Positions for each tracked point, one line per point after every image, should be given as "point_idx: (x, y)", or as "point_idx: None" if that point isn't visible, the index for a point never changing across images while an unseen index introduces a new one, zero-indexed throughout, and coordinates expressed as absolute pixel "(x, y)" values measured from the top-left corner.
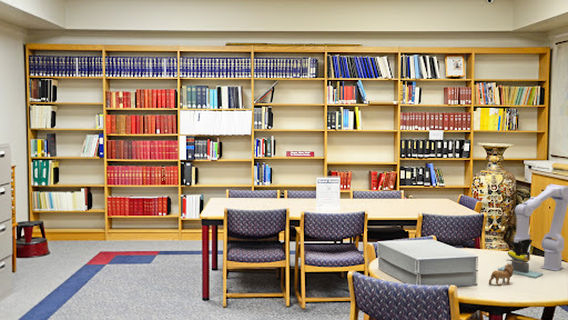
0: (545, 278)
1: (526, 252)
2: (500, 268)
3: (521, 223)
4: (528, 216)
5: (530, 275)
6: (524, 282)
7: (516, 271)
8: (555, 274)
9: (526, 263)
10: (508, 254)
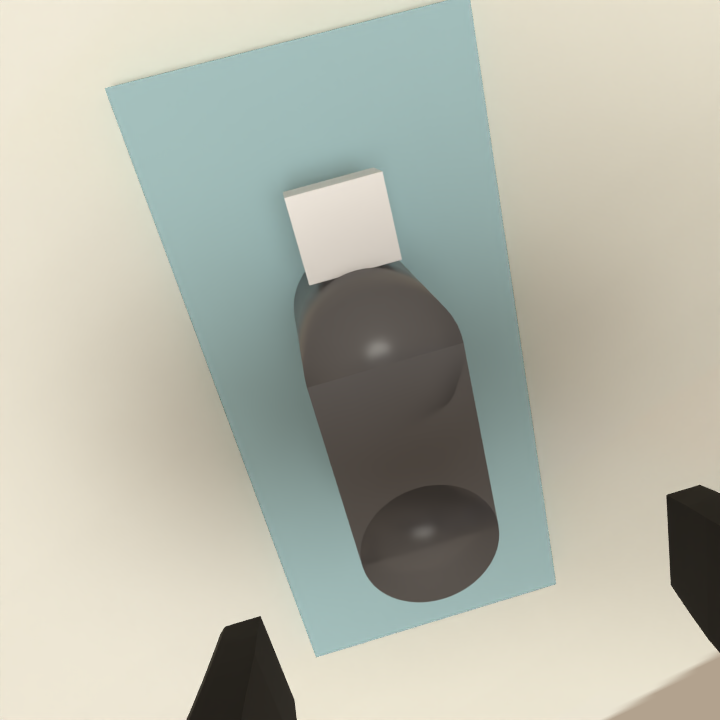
0: (431, 670)
1: (695, 608)
2: (166, 108)
3: None
4: None
5: (306, 601)
6: (19, 713)
7: (293, 386)
8: None
9: (437, 565)
10: None
